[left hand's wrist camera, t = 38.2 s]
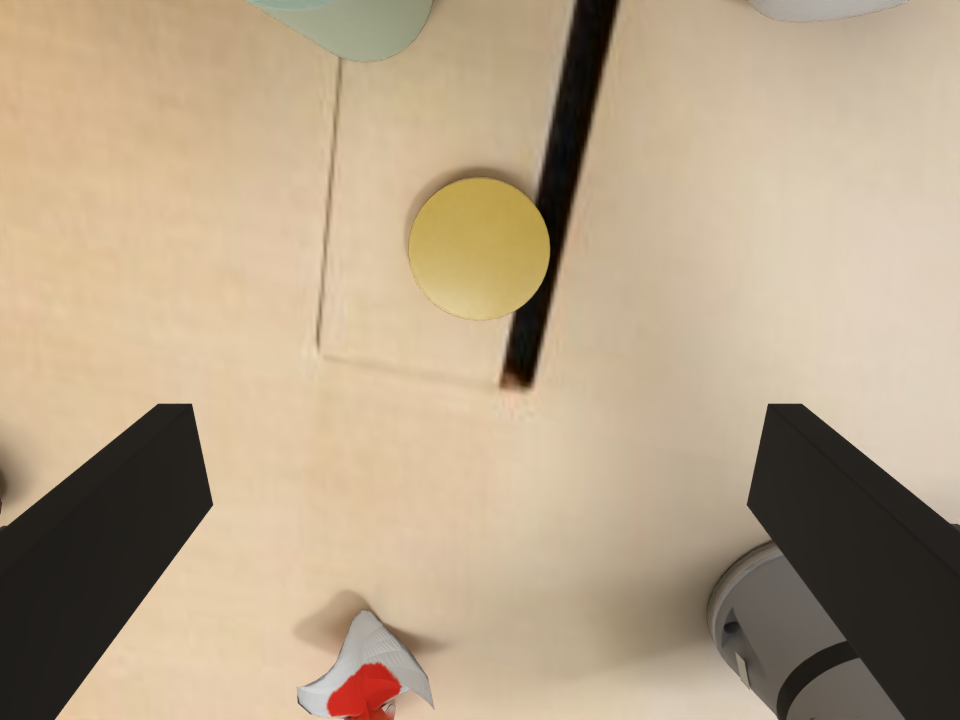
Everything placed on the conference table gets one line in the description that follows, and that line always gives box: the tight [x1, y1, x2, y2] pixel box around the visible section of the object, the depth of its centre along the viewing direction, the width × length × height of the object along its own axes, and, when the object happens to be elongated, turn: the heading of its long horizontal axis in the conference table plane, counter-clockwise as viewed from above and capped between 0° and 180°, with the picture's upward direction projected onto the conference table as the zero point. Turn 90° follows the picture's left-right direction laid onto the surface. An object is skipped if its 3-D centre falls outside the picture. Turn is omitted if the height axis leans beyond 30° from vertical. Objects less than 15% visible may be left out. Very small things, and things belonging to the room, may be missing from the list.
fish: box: [297, 610, 434, 720], centre depth 47 cm, size 11×16×10 cm
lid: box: [408, 177, 550, 320], centre depth 36 cm, size 9×9×2 cm
